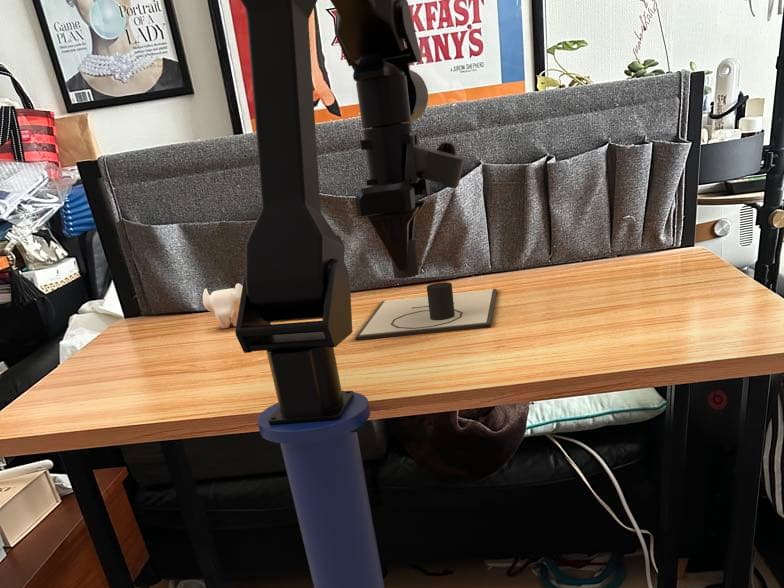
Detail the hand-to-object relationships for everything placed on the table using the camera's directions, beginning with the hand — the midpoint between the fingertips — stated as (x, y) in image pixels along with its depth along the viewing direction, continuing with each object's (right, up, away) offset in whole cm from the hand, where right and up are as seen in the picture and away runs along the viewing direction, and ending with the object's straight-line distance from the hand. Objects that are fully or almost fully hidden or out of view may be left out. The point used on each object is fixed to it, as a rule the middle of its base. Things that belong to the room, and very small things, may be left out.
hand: (404, 267), depth 91 cm
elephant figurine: (-26, -2, +18) cm, 32 cm away
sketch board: (+4, -4, +7) cm, 9 cm away
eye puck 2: (+5, -5, +3) cm, 8 cm away
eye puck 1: (0, -1, +1) cm, 1 cm away
